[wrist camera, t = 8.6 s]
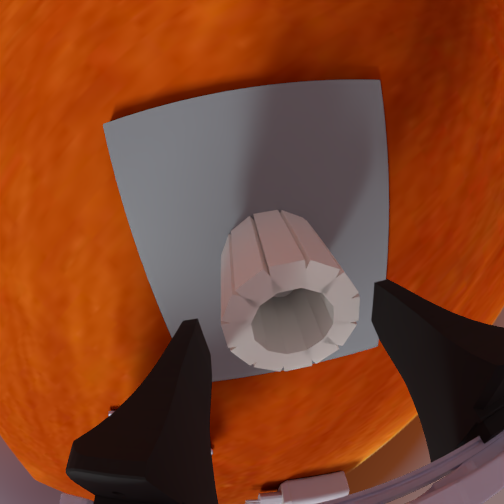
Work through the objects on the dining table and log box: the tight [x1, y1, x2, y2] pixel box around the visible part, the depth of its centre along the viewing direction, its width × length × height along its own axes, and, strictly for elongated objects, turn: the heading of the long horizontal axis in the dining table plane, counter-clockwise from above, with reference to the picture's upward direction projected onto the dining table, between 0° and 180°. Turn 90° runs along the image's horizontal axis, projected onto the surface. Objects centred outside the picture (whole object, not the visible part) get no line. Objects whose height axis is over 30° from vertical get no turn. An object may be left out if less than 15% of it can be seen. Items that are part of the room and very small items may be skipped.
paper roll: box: [221, 210, 360, 372], centre depth 14 cm, size 5×5×6 cm
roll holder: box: [103, 80, 389, 382], centre depth 15 cm, size 18×14×3 cm
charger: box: [245, 471, 349, 504], centre depth 33 cm, size 5×9×15 cm
